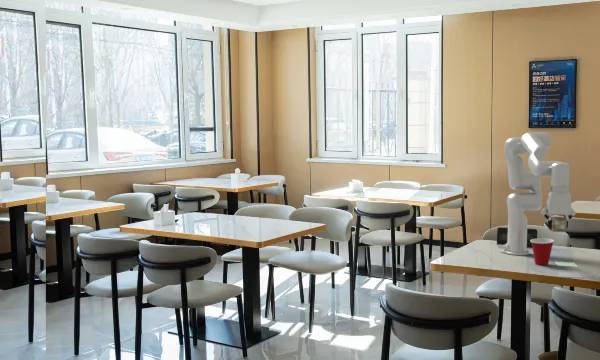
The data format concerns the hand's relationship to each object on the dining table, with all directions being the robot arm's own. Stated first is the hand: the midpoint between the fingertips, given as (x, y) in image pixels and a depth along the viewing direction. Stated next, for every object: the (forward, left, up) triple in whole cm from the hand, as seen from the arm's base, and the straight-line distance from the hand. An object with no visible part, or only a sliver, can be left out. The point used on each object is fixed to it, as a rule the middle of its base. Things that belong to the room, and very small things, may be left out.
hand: (557, 228), depth 298 cm
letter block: (0, 0, -1) cm, 1 cm away
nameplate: (-10, +60, -20) cm, 63 cm away
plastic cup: (-4, +12, -20) cm, 23 cm away
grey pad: (+5, -9, -19) cm, 22 cm away
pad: (+8, +15, -19) cm, 26 cm away
